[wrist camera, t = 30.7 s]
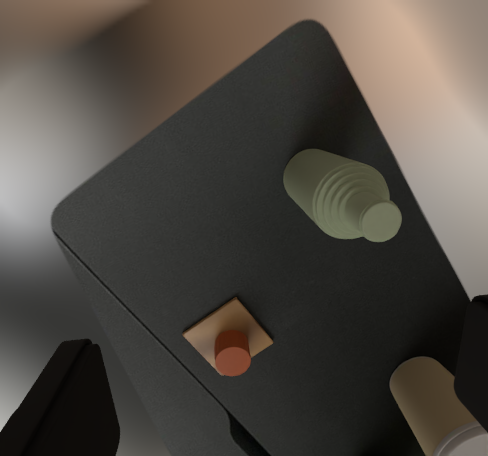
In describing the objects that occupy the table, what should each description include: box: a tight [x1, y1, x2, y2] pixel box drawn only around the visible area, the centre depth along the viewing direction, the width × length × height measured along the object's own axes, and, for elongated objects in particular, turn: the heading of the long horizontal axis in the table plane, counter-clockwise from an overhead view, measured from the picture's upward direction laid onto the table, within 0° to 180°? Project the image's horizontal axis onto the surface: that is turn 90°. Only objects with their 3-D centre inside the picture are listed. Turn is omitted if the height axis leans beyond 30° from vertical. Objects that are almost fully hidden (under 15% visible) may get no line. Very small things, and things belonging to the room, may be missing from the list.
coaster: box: [183, 297, 273, 376], centre depth 41 cm, size 8×8×1 cm
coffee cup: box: [390, 356, 488, 456], centre depth 41 cm, size 9×9×12 cm
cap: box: [214, 330, 251, 376], centre depth 40 cm, size 4×4×3 cm
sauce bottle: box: [283, 149, 402, 242], centre depth 29 cm, size 6×6×16 cm
